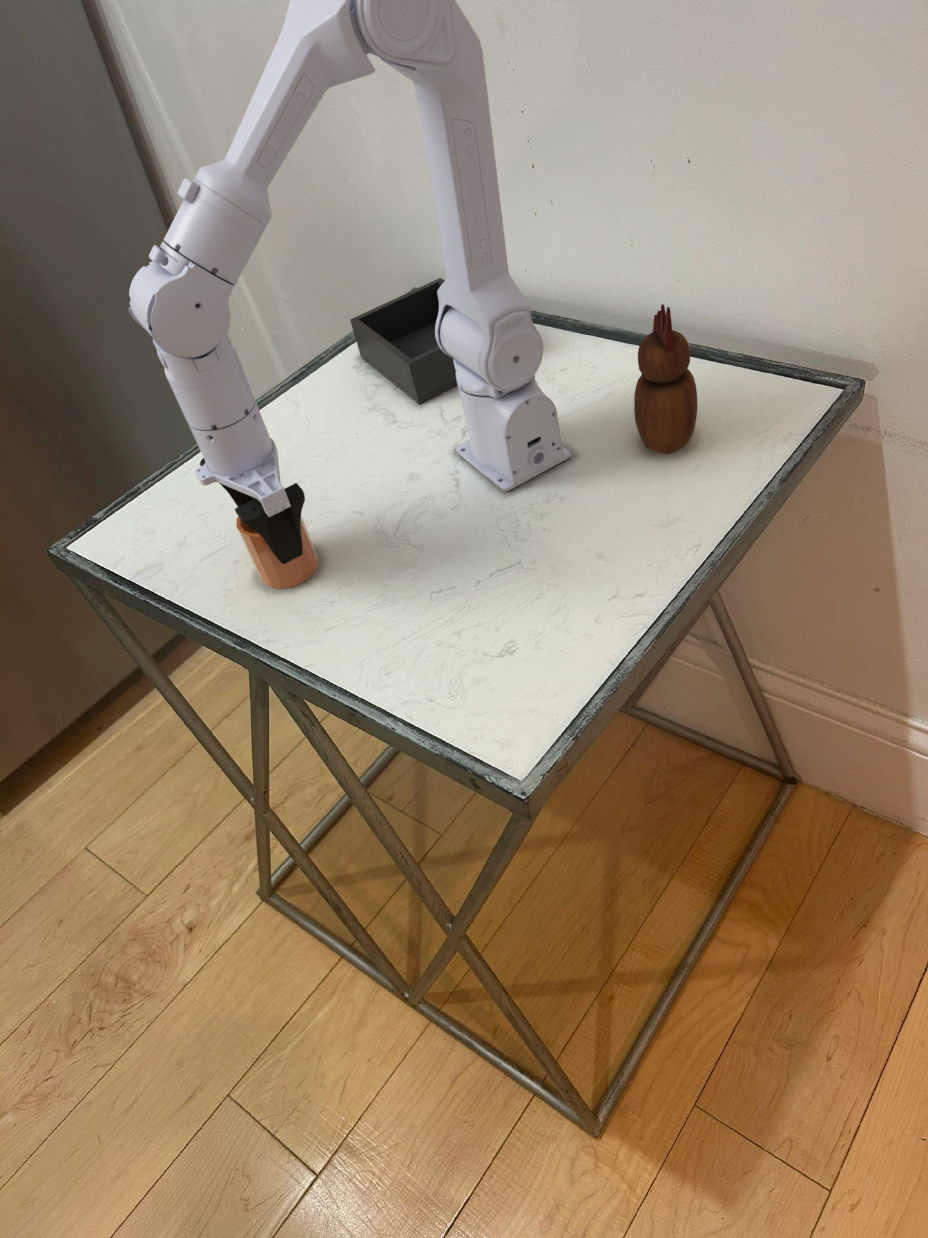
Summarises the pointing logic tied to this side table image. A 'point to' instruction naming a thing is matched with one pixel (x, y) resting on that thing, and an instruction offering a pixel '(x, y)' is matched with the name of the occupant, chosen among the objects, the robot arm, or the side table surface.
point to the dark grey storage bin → (407, 343)
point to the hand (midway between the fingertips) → (275, 536)
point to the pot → (271, 567)
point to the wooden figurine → (665, 388)
